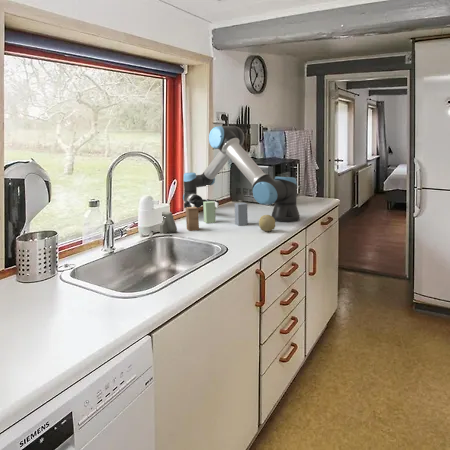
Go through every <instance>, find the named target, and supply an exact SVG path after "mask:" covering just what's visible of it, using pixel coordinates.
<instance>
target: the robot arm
mask: <svg viewBox="0 0 450 450" xmlns="http://www.w3.org/2000/svg"><path fill="white" fill-rule="evenodd" d="M244 142H245V133H244V132H243V129H241V128H240V127H238V126H236V125H218V126H215V127H214V126H213V128H212V129H211V130H210V132H209V135H208V143H209V145H210V146H211V148H213V149H215V150H217V149H218V150H219V151H218V152H217V154H216V155H215V156H214V158H213V159H211V161H210V163H209V164H208V166H207V167H206V168H205V170H203V172H202V173H201V174H196V173H197V172H191V171H190V172H185V173H183V189H184V190H183V195H182V199H183V202H184V203H183V207H184V209H186V207H197V208H198V209H199V208H201V207H203V202H206V201H213V202H215V209H218V208H219V206H220V201H219V200H216V199H209V198H207V199H206V198H205V199H203V198H202V196H200V195H198V193H197V190H198V188H202V187H207V186H206V185H210V186H213V185H214V184H215V182H216V181H215V180H216V177H217V175H218V174H219V173H220V172H221V170H222V169H223V167H224V166H225V165H226V164H227V163H228V162H229V160H231V161H232V162H233V164H234V165H235V166H236V168H237V169H238V170H239V171H240V172H241V173H242V174H243V176H245V178H246V179H247V180H248V182H249V183H250V184H251V189H252V196H253V198H254V200H255V201H256V202H257V203H259V204H260V205H264V206H266V205H272V204H274V205H273V206H274V207H273V209H272V211H271V212H272V213H271V216H272V217H273V218H274V219H275V222H279V223H291V222H297V221H300V218H301V217H300V216H301V215H300V212H299V210H298V207H297V198H298V197H297V196H298V195H297V188H298V187H297V186H298V183H297V182H298V181H297V179H296V177H289V176H274V178H273V177H272V176H271V174H269V173H265V172H264V171H263V169H261V168H260V166H259V165H258V164H257V162H255V160H254V159H253V158H252V156H250V155H249V153H248V152H247V151H246V150H245V149H244V148H243V147H242V146H243V144H244Z"/></svg>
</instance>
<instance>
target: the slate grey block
mask: <svg viewBox="0 0 450 450" xmlns="http://www.w3.org/2000/svg"><path fill="white" fill-rule="evenodd" d="M248 216H249V215H248V203H246V202H234V224H235V225H236V226H238V227H240V226H241V227H242V226H249V225H248Z"/></svg>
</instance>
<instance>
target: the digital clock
mask: <svg viewBox="0 0 450 450" xmlns="http://www.w3.org/2000/svg"><path fill="white" fill-rule="evenodd" d="M162 211H163V212H162V216H164V217H166V218H164V217H163V221H162V223H161V225H160V231H159V232H160V233H159V234H162V233H164V234H167V232H168V233H170V232H171V233H172V232H173V233H175V232H177V231H178V228H177V225H176V221H175V217H174V215H173V213H172V211H166V210H165V211H164V210H162Z"/></svg>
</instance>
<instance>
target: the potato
mask: <svg viewBox="0 0 450 450" xmlns="http://www.w3.org/2000/svg"><path fill="white" fill-rule="evenodd" d="M258 225H259V228H260V230H261V231H263V232H268V231H269V232H271V231H273V230H275V228H276V221H275V219H274V218H273V217H272V215H270V214H264V215H261V216H260V218H259V219H258Z"/></svg>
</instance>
